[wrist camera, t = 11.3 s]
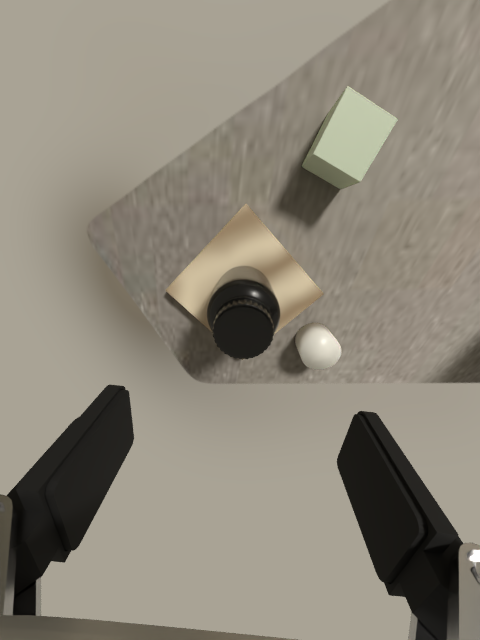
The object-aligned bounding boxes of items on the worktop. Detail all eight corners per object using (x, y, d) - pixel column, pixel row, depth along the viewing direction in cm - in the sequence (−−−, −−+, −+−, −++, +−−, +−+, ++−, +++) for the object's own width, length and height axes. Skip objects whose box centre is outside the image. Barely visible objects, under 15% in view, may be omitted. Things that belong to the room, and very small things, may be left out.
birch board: (320, 290, 30) (323, 293, 28) (242, 354, 34) (242, 359, 32) (246, 204, 26) (245, 203, 25) (169, 287, 30) (165, 290, 29)
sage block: (368, 139, 24) (397, 119, 19) (340, 189, 25) (360, 181, 21) (327, 113, 23) (347, 85, 18) (301, 166, 25) (313, 153, 20)
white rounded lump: (337, 339, 33) (349, 354, 29) (309, 360, 34) (316, 376, 30) (316, 315, 31) (325, 327, 28) (287, 338, 33) (292, 352, 29)
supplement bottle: (266, 320, 30) (278, 376, 19) (215, 314, 30) (196, 366, 19) (276, 267, 27) (295, 296, 16) (219, 260, 27) (199, 285, 16)
